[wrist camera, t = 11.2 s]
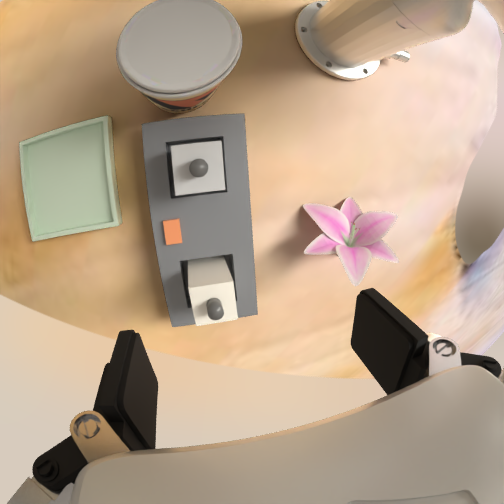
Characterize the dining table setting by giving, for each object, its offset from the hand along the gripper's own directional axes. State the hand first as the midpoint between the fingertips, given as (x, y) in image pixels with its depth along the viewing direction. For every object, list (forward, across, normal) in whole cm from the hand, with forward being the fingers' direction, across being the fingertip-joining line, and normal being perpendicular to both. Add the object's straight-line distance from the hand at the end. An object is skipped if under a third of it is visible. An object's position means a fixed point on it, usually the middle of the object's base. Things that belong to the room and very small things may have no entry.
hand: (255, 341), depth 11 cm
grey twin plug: (+22, +2, -6) cm, 22 cm away
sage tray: (+22, +16, -7) cm, 28 cm away
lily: (+22, -15, +3) cm, 27 cm away
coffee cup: (+23, +2, -16) cm, 28 cm away
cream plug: (+21, +2, +6) cm, 22 cm away
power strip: (+22, +2, 0) cm, 22 cm away
